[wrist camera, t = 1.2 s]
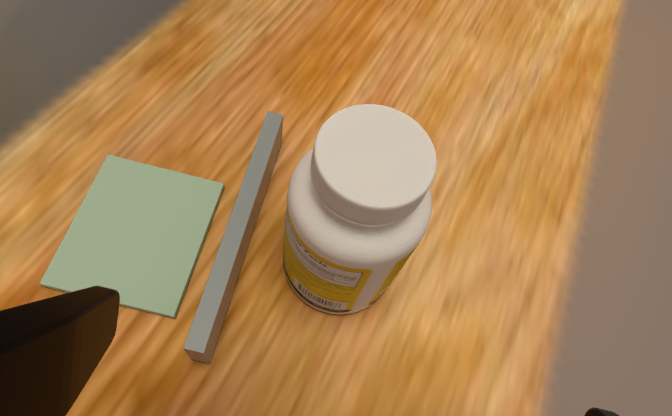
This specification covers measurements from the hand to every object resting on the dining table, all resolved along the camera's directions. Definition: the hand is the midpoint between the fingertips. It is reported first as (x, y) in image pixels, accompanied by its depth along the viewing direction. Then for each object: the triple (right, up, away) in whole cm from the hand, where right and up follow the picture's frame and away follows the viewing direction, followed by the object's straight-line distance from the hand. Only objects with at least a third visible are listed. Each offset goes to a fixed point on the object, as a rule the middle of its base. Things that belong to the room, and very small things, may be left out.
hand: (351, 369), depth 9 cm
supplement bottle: (0, 0, +15) cm, 15 cm away
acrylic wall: (-5, +2, +15) cm, 16 cm away
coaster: (-10, +2, +14) cm, 17 cm away
